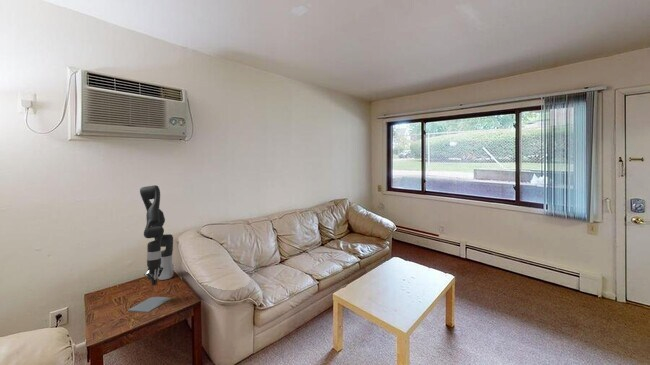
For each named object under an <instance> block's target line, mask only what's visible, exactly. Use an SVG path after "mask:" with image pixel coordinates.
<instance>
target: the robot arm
mask: <svg viewBox="0 0 650 365" xmlns="http://www.w3.org/2000/svg"><path fill="white" fill-rule="evenodd" d="M139 193H140V197H141V201H143V204H144V206H145V207H144V208H145V210H146V225H145V227H144V231H143V236H144V238H145V239H154V240H151V241H149V242H148V243H147V248H146V249H147V253H146V267H147V272H146V273H144V276H145V277H146V279H148V280H149V281H150V280H151V285H152V286H157V285H158V280H159V281H163V280H168V279H169V280H170V279H171V278H172V277H174V263H173V250H174V236H173V234H170V233H169V234H167V233H166V234H164V231H165V228H164V227H163V226H164V224H165V221H166V218H165V215H164V212H163V210H162V209H160V203H161V190H160V186H158V185H149V186H148V185H147V186H143V187H141V188H140V189H139ZM151 200H153V201H151ZM162 247H163V248H165V249H164V250H161V248H162Z"/></svg>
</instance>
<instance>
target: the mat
mask: <svg viewBox="0 0 650 365" xmlns="http://www.w3.org/2000/svg"><path fill="white" fill-rule="evenodd" d="M171 299H172V297H167V296H166V297H165V296H152V297H151V296H150V297H148V298H146V299H145V300H144V301H141V302H140V303H138V304H136V305H134V306H132V307H131V308H129V309H127V312H134V313H135V312H136V313H145V314H147V313H150V312H152V311H154V310H155V309H156V308H158V307H160V306H162V305H163V304H165V303H167V302H168V301H170V300H171Z"/></svg>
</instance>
